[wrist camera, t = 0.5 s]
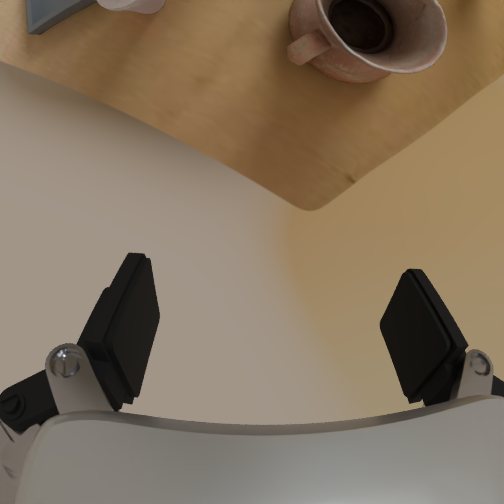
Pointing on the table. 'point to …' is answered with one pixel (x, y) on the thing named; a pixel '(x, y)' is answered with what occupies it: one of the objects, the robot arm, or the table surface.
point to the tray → (51, 12)
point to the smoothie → (133, 5)
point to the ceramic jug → (366, 37)
